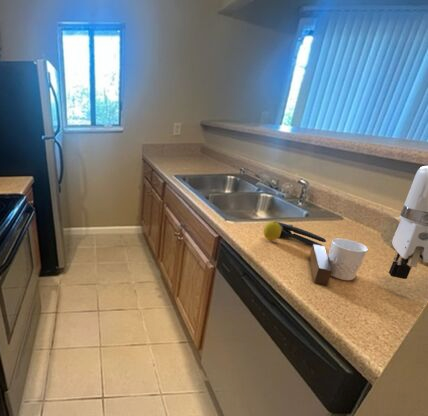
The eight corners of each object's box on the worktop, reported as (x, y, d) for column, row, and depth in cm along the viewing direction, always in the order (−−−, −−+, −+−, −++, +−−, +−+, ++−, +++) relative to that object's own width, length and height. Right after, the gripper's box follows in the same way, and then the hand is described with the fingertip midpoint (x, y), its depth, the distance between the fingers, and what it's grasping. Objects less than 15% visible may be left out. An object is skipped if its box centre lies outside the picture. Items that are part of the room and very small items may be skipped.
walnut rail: (320, 259, 90) (324, 246, 88) (327, 286, 77) (332, 271, 76) (309, 257, 92) (313, 244, 90) (314, 282, 79) (318, 268, 77)
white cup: (358, 285, 77) (370, 254, 74) (323, 276, 82) (332, 246, 78) (354, 271, 83) (365, 242, 80) (322, 263, 88) (331, 236, 84)
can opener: (265, 234, 107) (268, 221, 105) (273, 229, 111) (276, 217, 109) (320, 252, 94) (324, 237, 92) (326, 245, 98) (331, 231, 96)
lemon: (268, 236, 106) (272, 217, 103) (282, 242, 101) (286, 222, 98) (258, 239, 104) (262, 219, 101) (271, 245, 99) (276, 225, 96)
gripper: (460, 229, 61) (428, 296, 68) (431, 208, 73) (406, 266, 80) (413, 223, 65) (387, 287, 72) (392, 203, 77) (371, 260, 84)
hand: (397, 276), depth 76 cm, fingers closed
